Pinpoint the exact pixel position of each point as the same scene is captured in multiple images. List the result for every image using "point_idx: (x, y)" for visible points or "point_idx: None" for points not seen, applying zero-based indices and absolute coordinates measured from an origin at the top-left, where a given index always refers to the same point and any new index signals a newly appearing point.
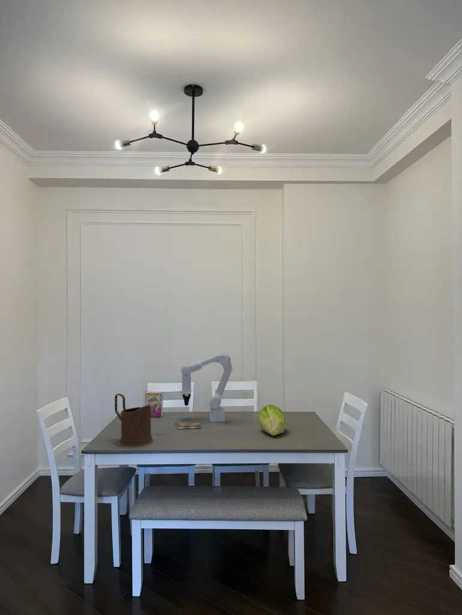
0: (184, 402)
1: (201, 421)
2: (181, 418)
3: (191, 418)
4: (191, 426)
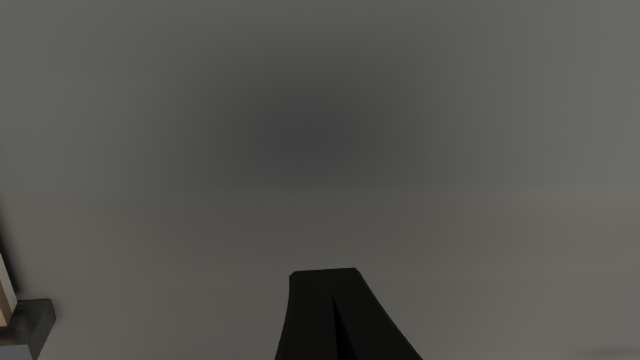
0: (279, 347)
1: (13, 353)
2: (570, 29)
3: (512, 180)
4: None
